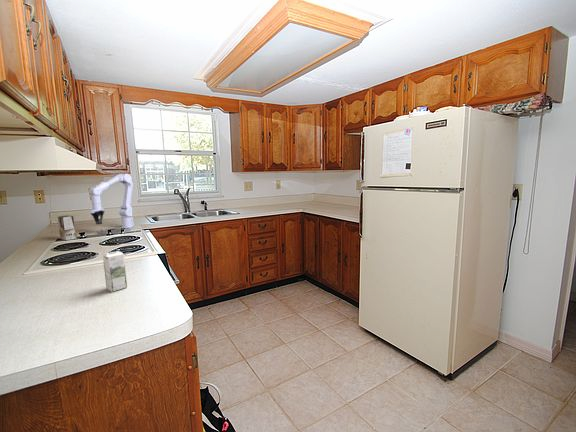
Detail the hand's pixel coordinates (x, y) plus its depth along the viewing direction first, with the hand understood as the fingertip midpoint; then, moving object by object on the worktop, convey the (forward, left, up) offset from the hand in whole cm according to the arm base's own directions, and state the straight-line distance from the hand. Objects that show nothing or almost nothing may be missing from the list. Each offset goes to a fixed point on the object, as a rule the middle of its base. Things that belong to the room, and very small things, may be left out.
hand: (98, 221), depth 220 cm
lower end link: (0, +12, -9) cm, 15 cm away
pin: (0, 0, -2) cm, 2 cm away
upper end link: (0, +7, -9) cm, 11 cm away
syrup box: (+114, +65, -9) cm, 132 cm away
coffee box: (+18, -12, -9) cm, 23 cm away
